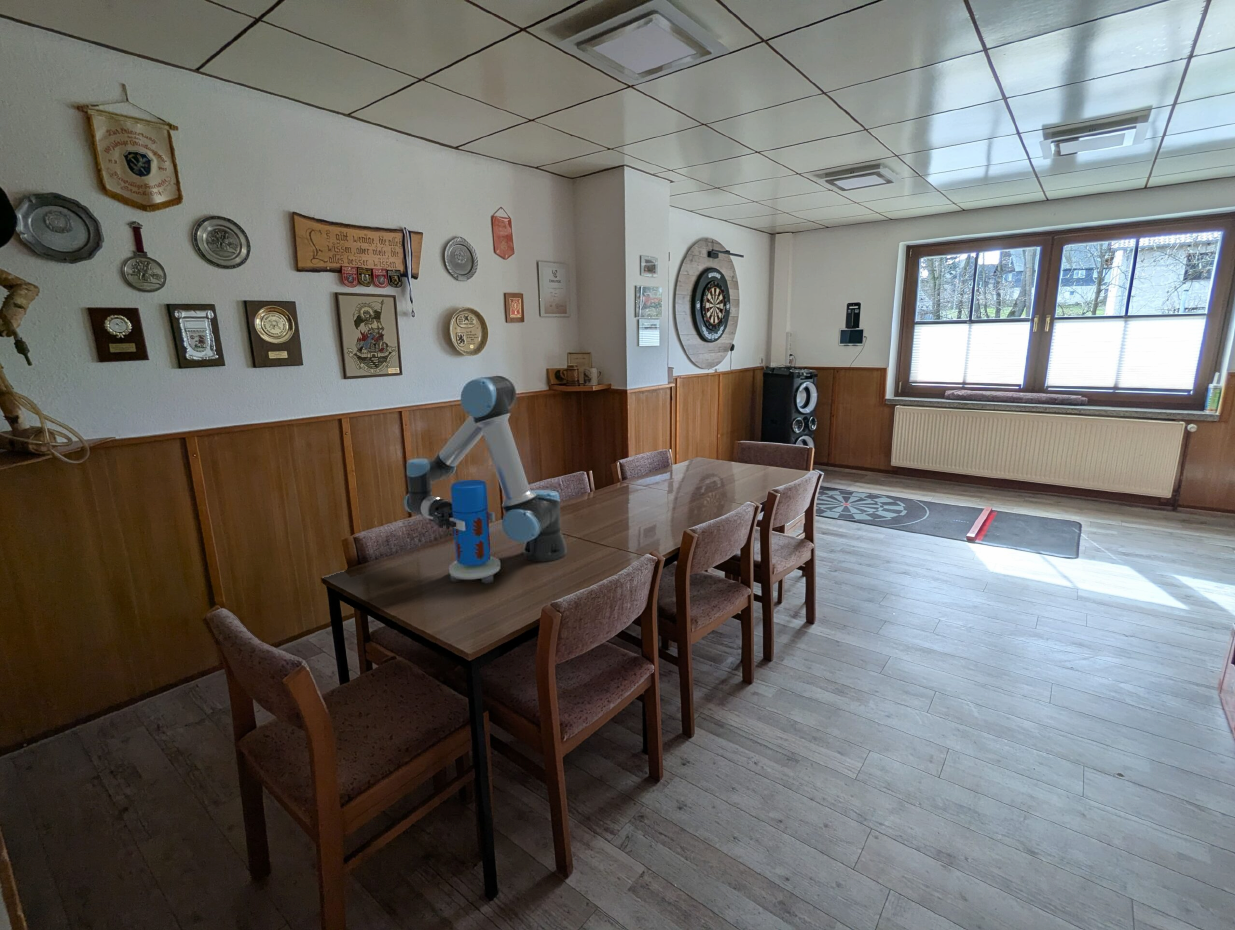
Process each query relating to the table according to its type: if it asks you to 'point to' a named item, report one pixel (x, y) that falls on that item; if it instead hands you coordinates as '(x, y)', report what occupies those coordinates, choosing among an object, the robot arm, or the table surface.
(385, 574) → the table surface
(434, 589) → the table surface
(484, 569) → the levelling base
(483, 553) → the thermos
